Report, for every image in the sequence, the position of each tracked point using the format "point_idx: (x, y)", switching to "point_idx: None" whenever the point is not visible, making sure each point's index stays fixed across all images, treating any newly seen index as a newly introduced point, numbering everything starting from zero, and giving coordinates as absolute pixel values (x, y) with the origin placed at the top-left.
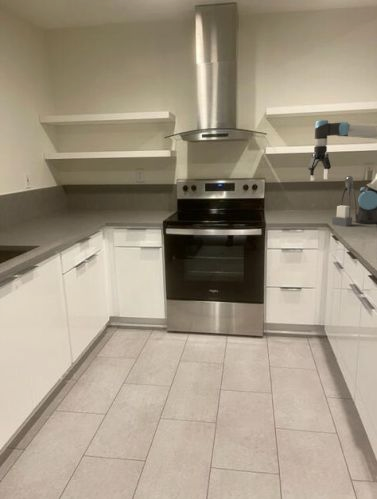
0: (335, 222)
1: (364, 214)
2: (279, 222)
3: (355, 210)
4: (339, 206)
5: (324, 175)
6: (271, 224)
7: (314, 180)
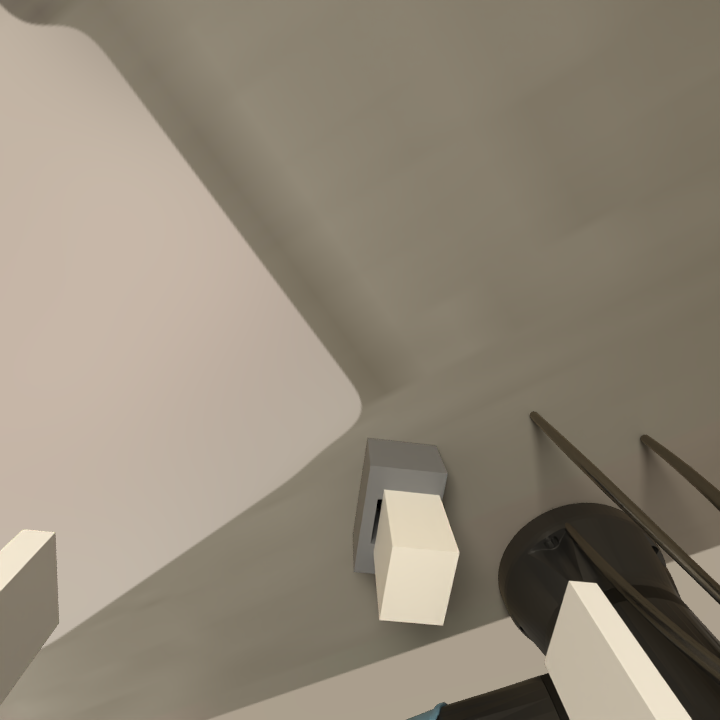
0: (364, 471)
1: (533, 622)
2: (190, 20)
3: (592, 561)
4: (388, 567)
5: (612, 686)
6: (49, 21)
7: (48, 624)
